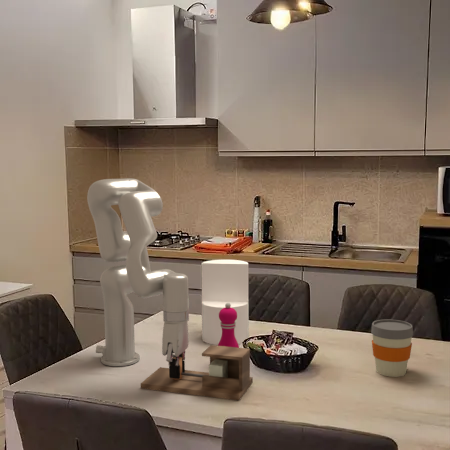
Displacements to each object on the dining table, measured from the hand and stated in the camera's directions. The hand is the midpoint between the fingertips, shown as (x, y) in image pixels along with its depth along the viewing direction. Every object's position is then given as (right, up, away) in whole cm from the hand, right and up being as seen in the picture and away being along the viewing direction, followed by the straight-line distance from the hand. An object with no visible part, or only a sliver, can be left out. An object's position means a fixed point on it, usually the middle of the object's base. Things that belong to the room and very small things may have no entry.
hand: (177, 375), depth 180 cm
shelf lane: (+6, -3, -2) cm, 7 cm away
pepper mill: (+15, -1, +17) cm, 23 cm away
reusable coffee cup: (+66, -1, +8) cm, 67 cm away
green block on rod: (+6, -1, -2) cm, 7 cm away
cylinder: (+14, +3, +44) cm, 46 cm away
